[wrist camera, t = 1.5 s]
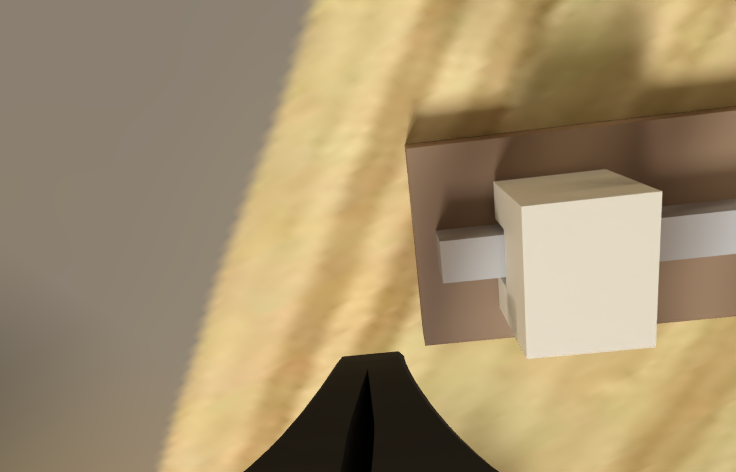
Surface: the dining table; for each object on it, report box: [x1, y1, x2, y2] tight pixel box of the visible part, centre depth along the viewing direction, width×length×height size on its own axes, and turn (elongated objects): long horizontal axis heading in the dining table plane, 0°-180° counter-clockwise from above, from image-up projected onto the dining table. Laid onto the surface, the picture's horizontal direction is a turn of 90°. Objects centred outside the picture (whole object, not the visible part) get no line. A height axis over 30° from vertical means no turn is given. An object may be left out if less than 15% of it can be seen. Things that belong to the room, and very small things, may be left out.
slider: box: [493, 169, 662, 359], centre depth 18 cm, size 4×5×4 cm
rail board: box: [405, 106, 736, 346], centre depth 19 cm, size 18×8×4 cm, turn 97°
